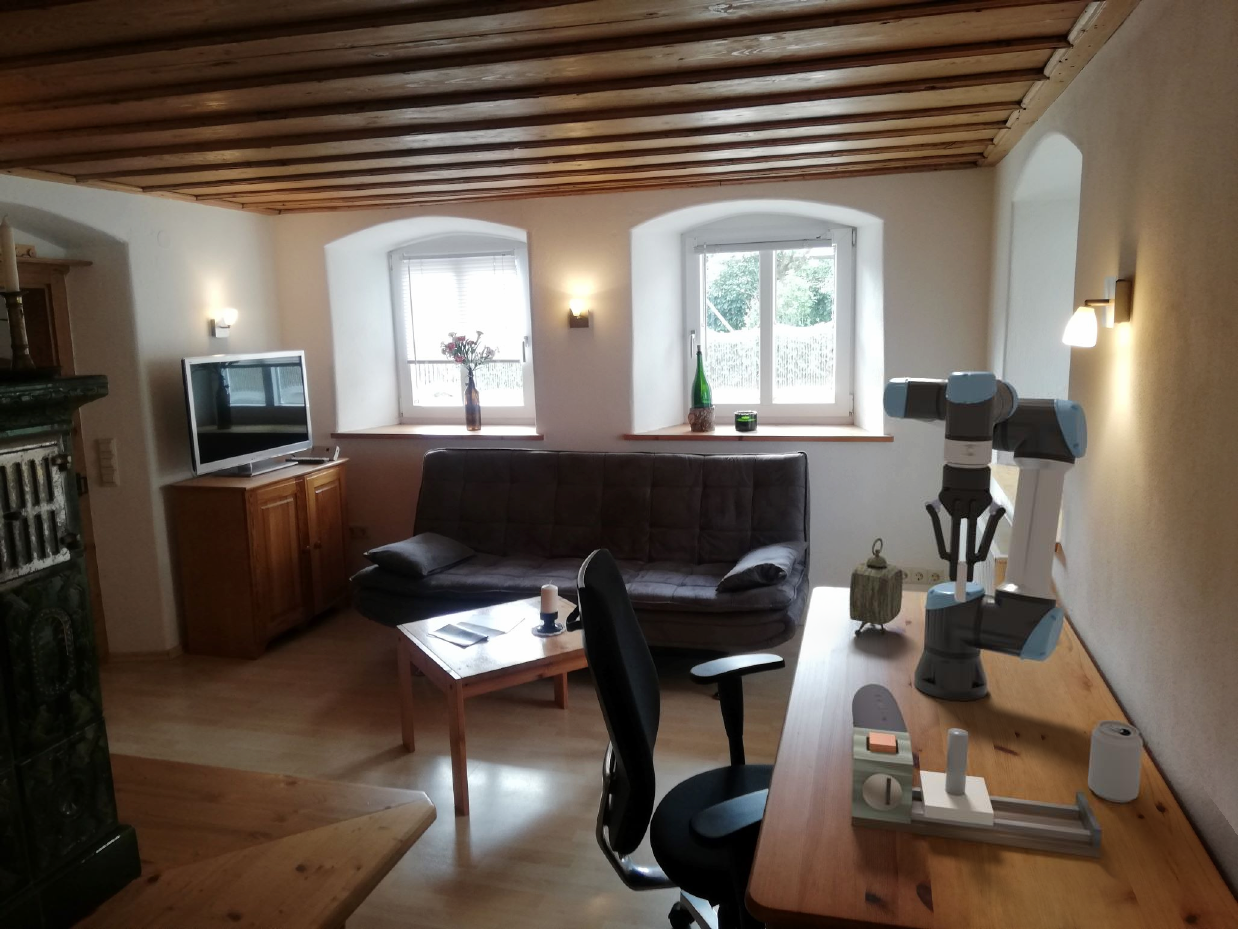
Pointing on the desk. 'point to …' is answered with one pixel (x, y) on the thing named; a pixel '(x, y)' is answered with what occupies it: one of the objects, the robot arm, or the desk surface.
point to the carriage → (956, 787)
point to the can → (1115, 761)
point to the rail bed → (1021, 823)
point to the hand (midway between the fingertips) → (959, 599)
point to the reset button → (882, 743)
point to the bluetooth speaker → (877, 709)
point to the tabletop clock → (875, 591)
